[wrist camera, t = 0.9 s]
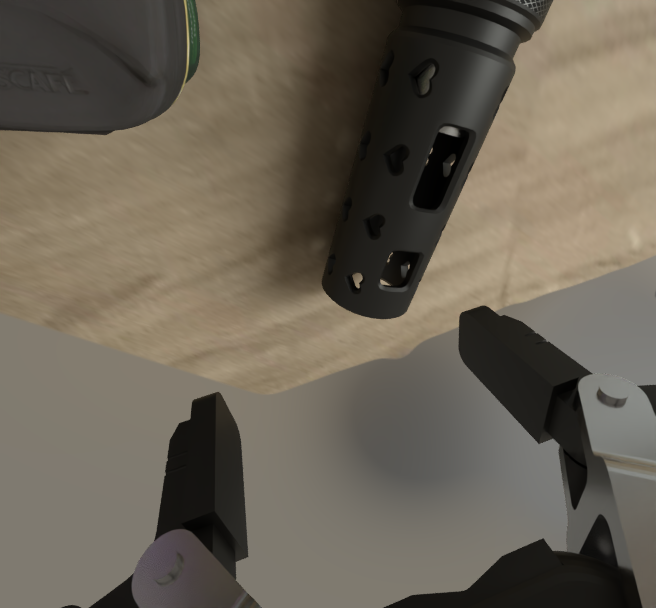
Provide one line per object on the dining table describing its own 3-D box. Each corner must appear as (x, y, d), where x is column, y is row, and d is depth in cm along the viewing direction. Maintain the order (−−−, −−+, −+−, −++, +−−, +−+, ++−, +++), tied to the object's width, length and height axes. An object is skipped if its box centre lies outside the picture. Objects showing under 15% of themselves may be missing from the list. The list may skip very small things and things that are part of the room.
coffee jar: (190, -59, 21) (157, -264, 7) (205, 92, 26) (204, 154, 12) (-2, -94, 19) (-694, -543, 4) (53, 81, 23) (-191, 144, 9)
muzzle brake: (306, 261, 37) (334, 320, 29) (398, -124, 22) (506, -217, 14) (384, 267, 40) (427, 323, 32) (508, -61, 25) (645, -107, 18)
